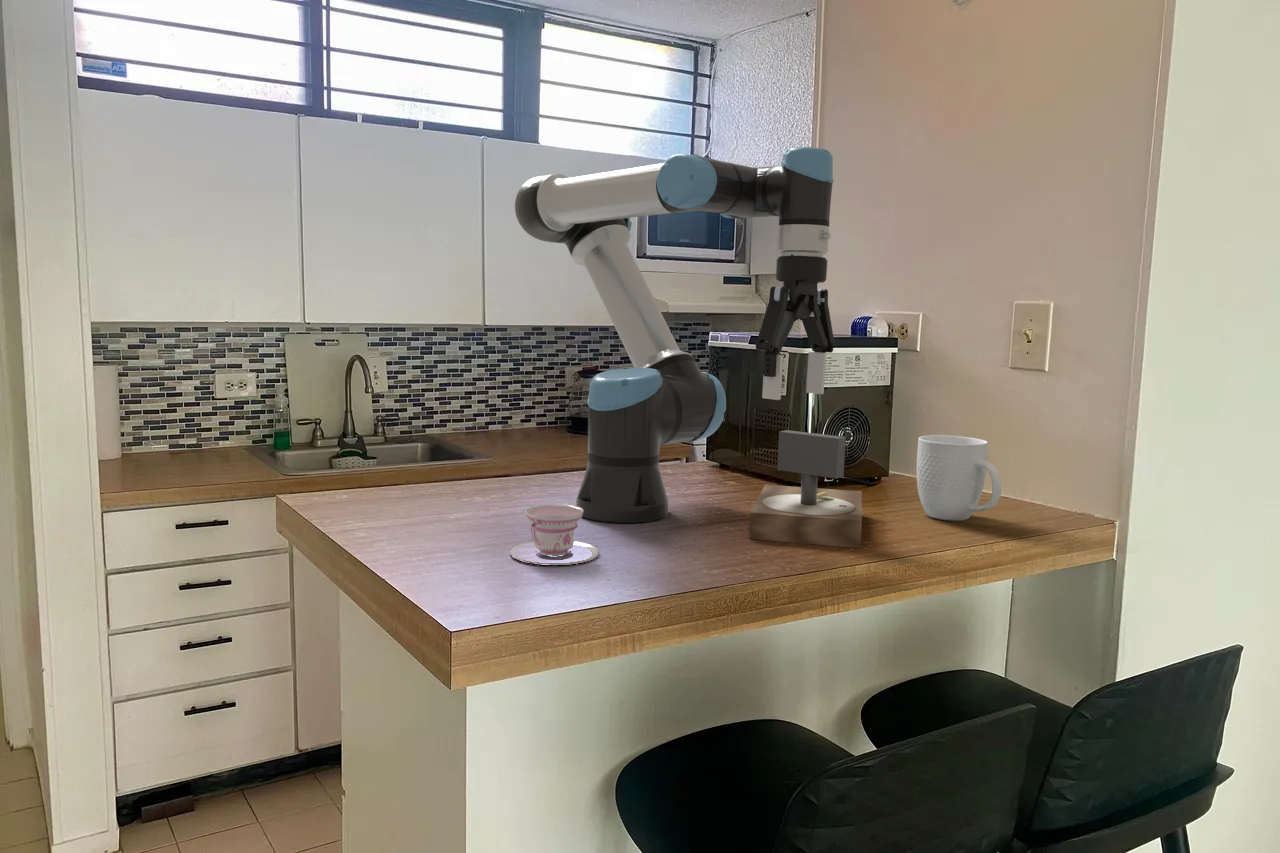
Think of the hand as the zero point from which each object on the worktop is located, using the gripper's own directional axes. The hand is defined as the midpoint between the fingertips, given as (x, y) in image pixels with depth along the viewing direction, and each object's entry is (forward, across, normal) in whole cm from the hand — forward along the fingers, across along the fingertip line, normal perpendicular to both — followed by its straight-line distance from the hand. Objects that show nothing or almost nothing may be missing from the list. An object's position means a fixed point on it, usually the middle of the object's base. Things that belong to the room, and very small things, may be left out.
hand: (793, 396), depth 139 cm
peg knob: (+16, +2, -4) cm, 17 cm away
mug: (+20, +25, -17) cm, 37 cm away
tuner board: (+20, +3, -2) cm, 21 cm away
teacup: (+21, -36, +15) cm, 45 cm away
